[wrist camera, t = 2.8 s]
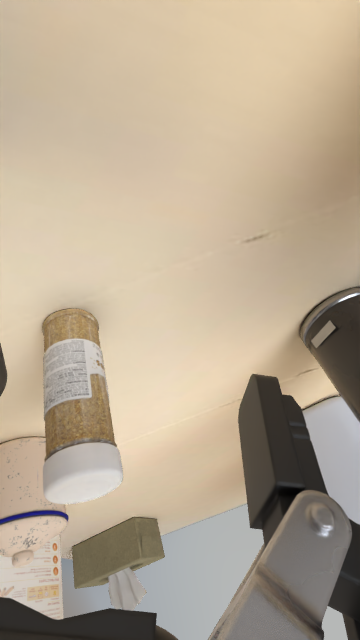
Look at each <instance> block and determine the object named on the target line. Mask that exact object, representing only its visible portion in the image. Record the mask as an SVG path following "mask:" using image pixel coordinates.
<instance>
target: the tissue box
mask: <svg viewBox="0 0 360 640" xmlns="http://www.w3.org/2000/svg"><path fill="white" fill-rule="evenodd" d="M72 554H73V569H74V586H75V589H77V588H84V587H91V586H98V585H104V584H106V583H108V582H109V595H110V599H111V604H112V605H113V606H114V607H115V608H116V609H119V608H121V607H122V609H123V610H130V611H133V610H134V608H135V607H136V605H137V604H139V603H140V602H141V599H142V598H143V596H144V595H145V594H146V590H145V589H144V588H143V586H142V585H141V583H140V582H139V580H138V579H137V577H136V575H135V574H134V572H133V571H135V570H137V569H140V568H142V567H144V566H146V565H149V564H151V563H153V562H155V561H158V560H160V559H162V558H164V557H165V555H164V551H163V546H162V541H161V537H160V532H159V527H158V522H157V519H150V518H139V517H133V518H131V519H129V520H127V521H125V522H123V523H121V524H119V525H116V526H114V527H112V528H110V529H108V530H106V531H104V532H102V533H100V534H98V535H96V536H94V537H92V538H90V539H88V540H86V541H84V542H81V543H79V544H77V545H75V546H73V547H72Z"/></svg>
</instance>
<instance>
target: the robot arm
mask: <svg viewBox="0 0 360 640" xmlns="http://www.w3.org/2000/svg"><path fill="white" fill-rule="evenodd" d="M300 337H301V339H302V341H303V342H304V344H305V345H306V347H307V348H309V350H310V352H311V353H312V354H313V356H314V357H315V358H316V360H317V361H318V363H319V364H320V366H321V367H322V369H323V370H324V372H325V373H326V375H327V376H328V378H329V379H330V381H331V382H332V383H333V385H334V386H335V388H336V389H337V391H338V392H339V394H340V395H341V397H342V398H343V400H344V401H345V402H346V404H347V405H348V407H349V408H350V410H351V411H352V413H353V414H354V416H355V417H356V419H357V420H358V421H359V423H360V287H356V288H351V289H348V290H345V291H342V292H340V293H338V294H336V295H334V296H332V297H330V298H329V299H327V300H325V301H324V302H323V303H321V304H320V305H319V306H318V307H316V308H315V309H314V310H313V311H312V312H311V313H310V314H309V316H308V317H307V318H306V320H305V321H304V323H303V325H302V327H301V330H300ZM6 382H7V371H6V366H5V362H4V357H3V353H2V348H1V344H0V396H1V394H2V393H3V391H4V389H5V386H6ZM238 423H239V433H240V441H241V450H242V459H243V468H244V477H245V486H246V495H247V504H248V512H249V521H250V528H254V529H262V530H263V536H264V544H263V546H262V548H261V550H260V551H259V553H258V555H257V556H256V558H255V560H254V562H253V563H252V565H251V567H250V569H249V570H248V572H247V574H246V576H245V577H244V579H243V581H242V583H241V584H240V586H239V588H238V590H237V591H236V593H235V595H234V597H233V598H232V600H231V602H230V604H229V605H228V607H227V609H226V610H225V612H224V614H223V615H222V617H221V618H220V620H219V622H218V623H217V625H216V627H215V628H214V630H213V632H212V633H211V635H210V637H209V639H208V640H323V639H324V631H323V630H322V627H321V626H322V620H323V617H324V614H325V611H326V609H327V606H330V607H331V608H333V609H335V610H337V611H339V612H341V613H342V614H343V618H344V623H345V627H346V632H347V637H348V640H360V525H359V524H357V523H356V522H354V521H352V520H351V519H349V518H348V517H347V515H346V513H345V512H344V510H343V509H342V508H341V506H340V505H339V504H338V503H337V502H336V501H335V500H333V499H332V498H331V497H330V496H329V494H328V492H327V489H326V487H325V483H324V480H323V477H322V474H321V470H320V467H319V464H318V461H317V457H316V454H315V451H314V448H313V444H312V441H310V435H309V431H308V428H306V422H305V418H304V415H303V412H302V409H301V408H300V407H299V405H298V404H297V403H296V401H295V400H294V399H293V397H292V396H290V395H282V393H281V389H280V385H279V381H278V379H277V378H276V377H272V376H265V375H257V374H252V375H251V377H250V380H249V383H248V385H247V388H246V391H245V393H244V396H243V399H242V402H241V404H240V408H239V416H238ZM156 616H157V614H156V613H148V612H139V611H130V610H121V609H111V608H109V609H105V610H100V611H96V612H92V613H87V614H83V615H78V616H74V617H69V618H65V619H59V620H57V619H52V618H50V617H48V616H46V615H44V614H42V613H40V612H38V611H36V610H34V609H32V608H30V607H28V606H26V605H24V604H22V603H20V602H18V601H16V600H13V599H11V598H5V597H0V640H178V639H177V638H176V637H175V636H173V635H172V634H170V633H169V632H167V631H166V630H165V629H163V628H160V627H159V626H157V625H156Z"/></svg>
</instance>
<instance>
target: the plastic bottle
mask: <svg viewBox="0 0 360 640" xmlns="http://www.w3.org/2000/svg"><path fill="white" fill-rule="evenodd" d="M302 412H303V415H304V418H305V422H306V428H308V431H309V435H310V441H312V444H313V448H314V451H315V454H316V457H317V461H318V464H319V467H320V470H321V474H322V477H323V480H324V483H325V487H326V489H327V492H328V494H329V496H330V497H331V498H332V499H333V500H335V501H336V502H337V503H338V504H339V505H340V506H341V508H342V509H343V510H344V512H345V513H346V515H347V517H348V518H349V519H351V520H352V521H354V522H356V523H357V524H359V525H360V423H359V421H358V420H357V419H356V417H355V416H354V414H353V413H352V411H351V410H350V408H349V407H348V405H347V404H346V402H345V401H344V400H343V398H342V397H341V396H339V397H332V398H329V399H326V400H324V401H322V402H320V403H318V404H316V405H313V406H311V407H309V408H307V409H305V410H303V411H302Z"/></svg>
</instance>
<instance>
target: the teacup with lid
mask: <svg viewBox="0 0 360 640" xmlns="http://www.w3.org/2000/svg"><path fill="white" fill-rule="evenodd" d="M45 456H46V438H42V437H27V438H20V439H15V440H11V441H8V442H5V443H2V444H0V555H1V556H4V557H13V558H12V565H13V566H14V567H21V566H25V565H28V564H30V563H31V562H32V561H33V559H34V553H33V552H35V551H37V550H39V549H40V548H42V547H43V546H44V545H45V544H46V543H47V542H48V541H49V540H50V539H52V538H54V537H56V536H57V535H59V534H60V533H62V532H63V531H64V529H65V528H66V526H67V522H68V515H67V514H66V509H65V504H57V503H52V502H50V501H48V500H47V499H46V498H45V496H44V490H43V465H44V463H45V461H44V459H45Z"/></svg>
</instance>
